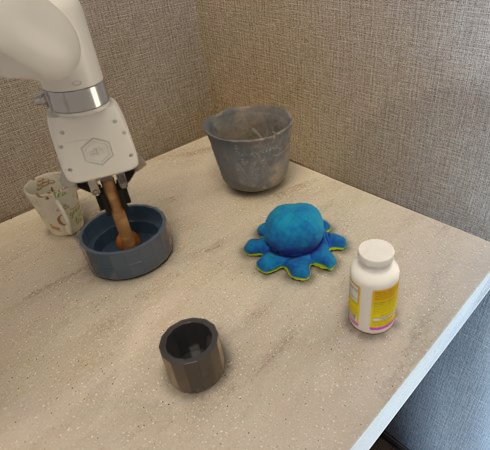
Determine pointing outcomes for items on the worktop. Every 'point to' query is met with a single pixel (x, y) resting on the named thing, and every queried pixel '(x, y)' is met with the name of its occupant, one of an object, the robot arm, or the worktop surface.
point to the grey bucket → (251, 145)
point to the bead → (120, 245)
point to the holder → (192, 355)
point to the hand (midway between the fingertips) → (117, 208)
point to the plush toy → (295, 241)
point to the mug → (55, 203)
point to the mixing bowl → (131, 260)
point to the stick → (118, 212)
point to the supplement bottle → (373, 287)
